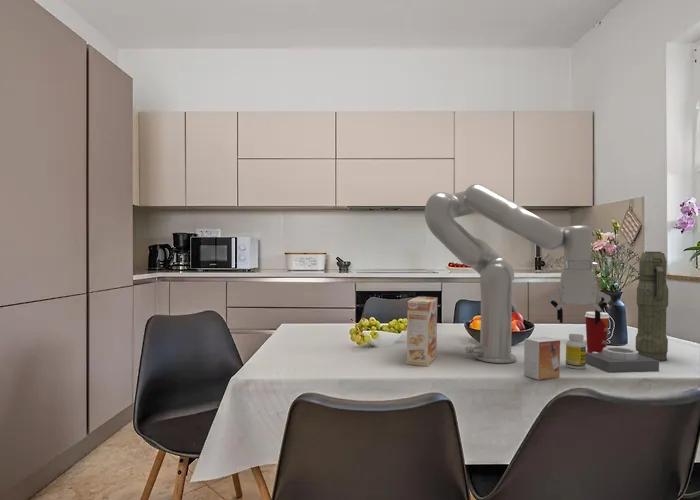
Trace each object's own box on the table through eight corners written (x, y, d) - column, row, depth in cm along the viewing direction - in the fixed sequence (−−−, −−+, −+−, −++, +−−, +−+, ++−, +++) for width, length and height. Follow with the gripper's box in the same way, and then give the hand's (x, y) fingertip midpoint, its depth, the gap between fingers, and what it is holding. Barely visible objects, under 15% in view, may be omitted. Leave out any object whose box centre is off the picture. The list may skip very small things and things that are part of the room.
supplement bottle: (583, 370, 143) (583, 337, 143) (563, 367, 146) (564, 334, 146) (587, 366, 147) (587, 334, 147) (568, 363, 151) (568, 332, 151)
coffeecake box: (428, 366, 145) (429, 301, 145) (405, 364, 148) (406, 300, 148) (437, 356, 159) (438, 296, 159) (416, 354, 162) (416, 295, 162)
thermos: (647, 362, 153) (649, 251, 153) (628, 354, 165) (629, 251, 165) (676, 363, 153) (678, 252, 153) (654, 354, 165) (656, 251, 165)
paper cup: (612, 357, 161) (613, 314, 160) (587, 355, 162) (588, 313, 162) (605, 352, 168) (605, 311, 168) (581, 350, 170) (581, 310, 170)
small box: (538, 380, 132) (538, 341, 131) (523, 375, 137) (523, 338, 137) (560, 377, 135) (560, 339, 135) (544, 372, 140) (545, 336, 140)
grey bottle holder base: (609, 372, 141) (609, 355, 141) (583, 362, 153) (583, 346, 153) (658, 371, 143) (659, 354, 143) (630, 361, 155) (630, 345, 155)
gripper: (610, 266, 146) (610, 323, 146) (548, 266, 154) (548, 320, 154) (610, 267, 139) (611, 326, 139) (545, 267, 147) (546, 323, 147)
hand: (578, 323), depth 146 cm, fingers open, 9 cm apart
